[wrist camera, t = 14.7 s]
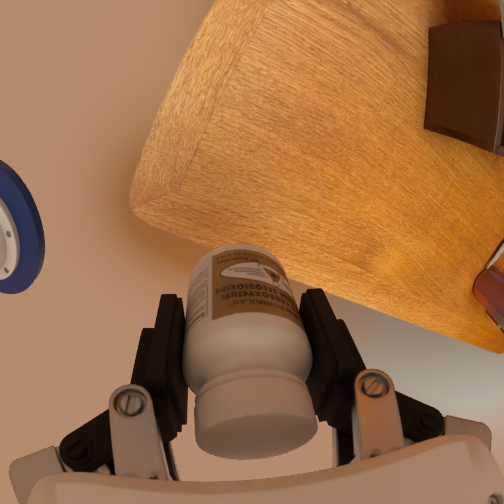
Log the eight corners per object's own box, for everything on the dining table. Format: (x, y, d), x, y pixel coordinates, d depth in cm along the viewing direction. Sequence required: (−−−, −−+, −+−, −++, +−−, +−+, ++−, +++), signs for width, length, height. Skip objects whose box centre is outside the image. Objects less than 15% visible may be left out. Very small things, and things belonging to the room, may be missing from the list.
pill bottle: (302, 263, 14) (366, 410, 7) (255, 328, 15) (279, 468, 9) (215, 223, 12) (217, 387, 5) (175, 299, 14) (158, 453, 7)
